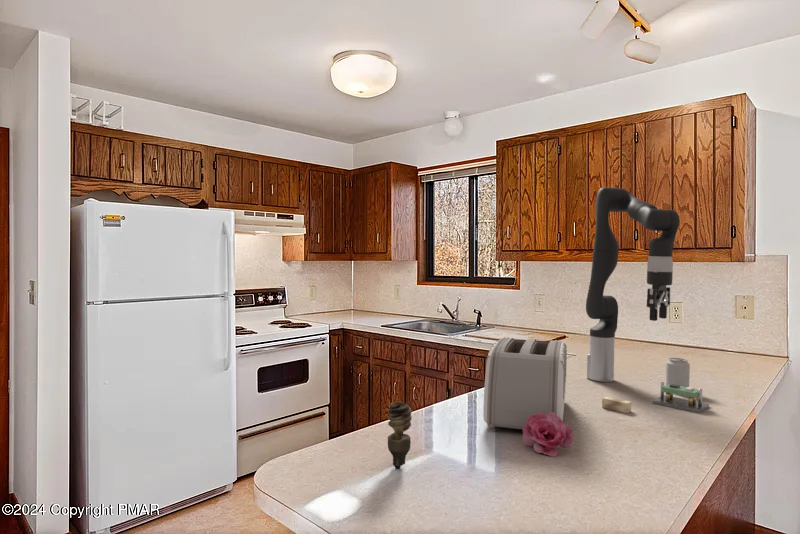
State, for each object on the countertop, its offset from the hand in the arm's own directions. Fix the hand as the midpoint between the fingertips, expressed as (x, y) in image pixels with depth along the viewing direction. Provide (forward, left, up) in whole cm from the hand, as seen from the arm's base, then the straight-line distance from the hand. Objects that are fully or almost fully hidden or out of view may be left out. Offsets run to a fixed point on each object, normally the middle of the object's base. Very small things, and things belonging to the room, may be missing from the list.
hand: (658, 319), depth 172 cm
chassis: (+6, +5, -28) cm, 29 cm away
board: (+6, +5, -24) cm, 25 cm away
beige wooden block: (-6, -16, -28) cm, 33 cm away
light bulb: (-19, -99, -28) cm, 105 cm away
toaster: (-23, -41, -28) cm, 55 cm away
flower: (-2, -64, -28) cm, 70 cm away
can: (-1, +23, -28) cm, 36 cm away
